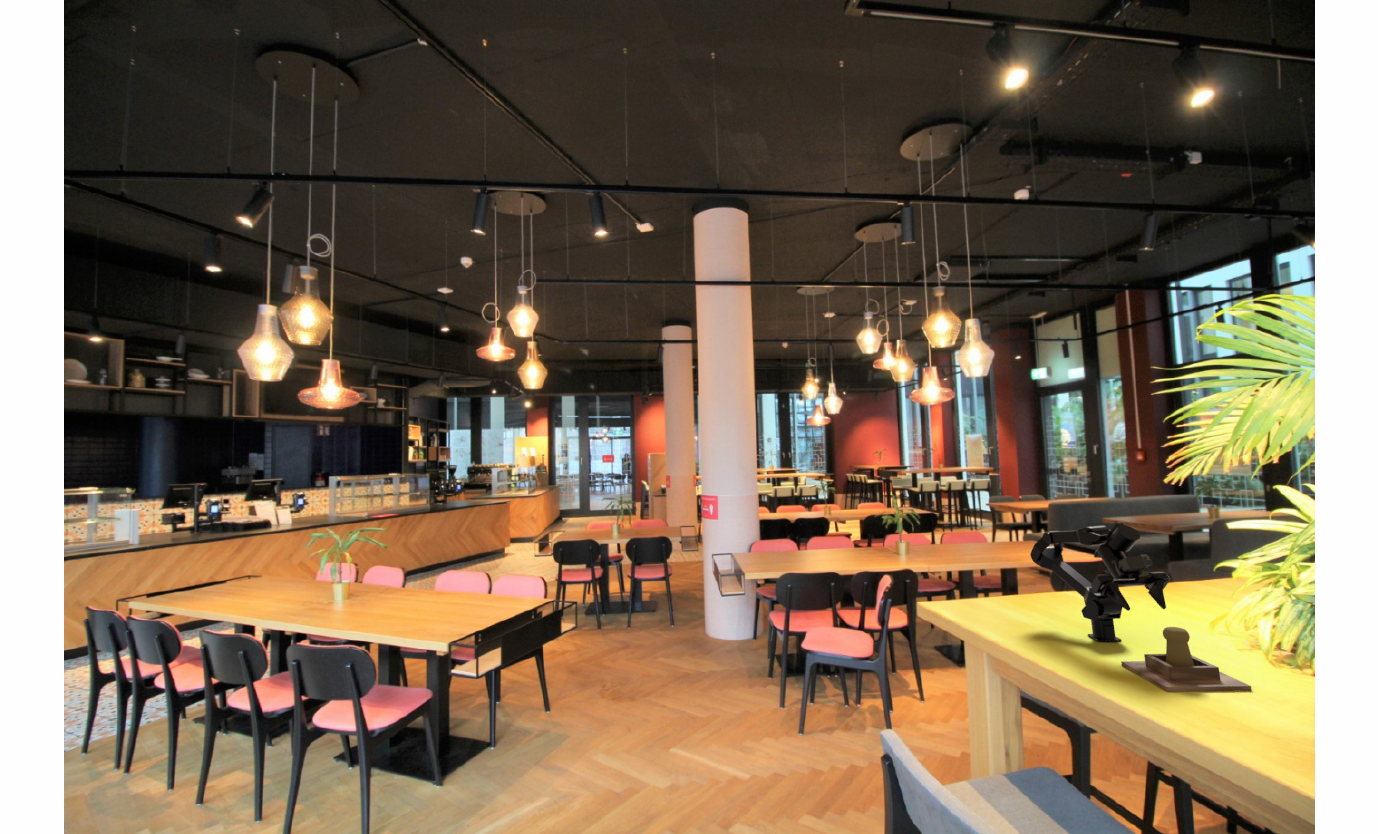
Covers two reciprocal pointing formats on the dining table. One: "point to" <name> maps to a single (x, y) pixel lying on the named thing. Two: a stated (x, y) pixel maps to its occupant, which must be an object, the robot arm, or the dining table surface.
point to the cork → (1177, 647)
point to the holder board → (1183, 675)
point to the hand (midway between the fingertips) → (1146, 609)
